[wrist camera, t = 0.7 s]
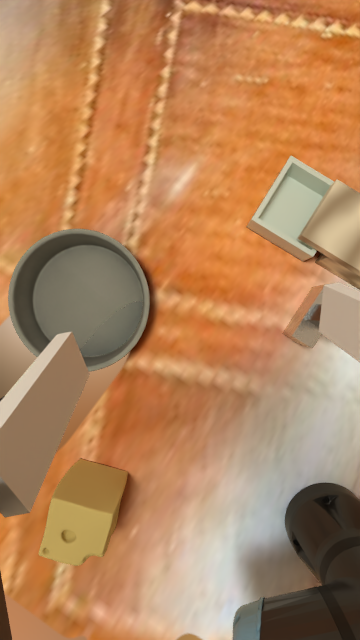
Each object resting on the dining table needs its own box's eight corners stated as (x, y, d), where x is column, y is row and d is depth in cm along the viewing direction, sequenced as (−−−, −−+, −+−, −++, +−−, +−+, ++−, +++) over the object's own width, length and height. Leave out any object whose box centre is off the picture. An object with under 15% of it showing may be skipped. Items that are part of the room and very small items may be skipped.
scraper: (330, 298, 42) (387, 294, 30) (300, 344, 43) (344, 358, 31) (312, 287, 42) (361, 278, 30) (282, 333, 43) (319, 342, 31)
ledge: (408, 251, 41) (442, 242, 36) (376, 299, 42) (404, 298, 36) (317, 196, 41) (337, 179, 36) (286, 245, 42) (301, 235, 37)
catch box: (339, 203, 41) (353, 193, 38) (302, 261, 42) (313, 256, 39) (282, 168, 41) (290, 155, 38) (246, 227, 42) (251, 219, 39)
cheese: (118, 518, 45) (99, 577, 35) (66, 503, 46) (32, 557, 36) (131, 469, 45) (115, 514, 35) (78, 454, 45) (47, 495, 35)
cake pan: (16, 352, 45) (-3, 357, 40) (36, 225, 44) (19, 216, 39) (140, 377, 44) (134, 385, 40) (164, 249, 43) (161, 242, 39)
